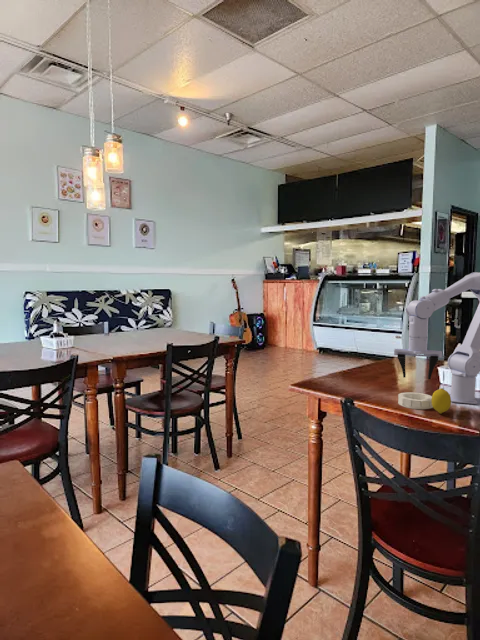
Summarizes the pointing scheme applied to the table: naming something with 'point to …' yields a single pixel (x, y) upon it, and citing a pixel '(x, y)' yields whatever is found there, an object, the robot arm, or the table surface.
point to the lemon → (441, 400)
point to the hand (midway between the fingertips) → (416, 377)
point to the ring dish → (415, 400)
